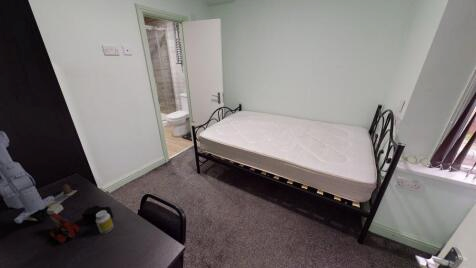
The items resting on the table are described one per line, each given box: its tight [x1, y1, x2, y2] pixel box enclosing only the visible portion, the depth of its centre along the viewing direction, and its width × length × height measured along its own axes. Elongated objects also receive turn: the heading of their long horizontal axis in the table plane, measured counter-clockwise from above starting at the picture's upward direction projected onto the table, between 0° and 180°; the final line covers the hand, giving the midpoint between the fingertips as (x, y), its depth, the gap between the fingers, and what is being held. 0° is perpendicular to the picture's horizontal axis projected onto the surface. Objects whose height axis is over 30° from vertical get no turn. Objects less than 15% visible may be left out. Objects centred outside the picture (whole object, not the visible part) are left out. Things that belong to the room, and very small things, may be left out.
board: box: [23, 189, 78, 222], centre depth 96 cm, size 8×22×1 cm, turn 176°
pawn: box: [61, 184, 73, 195], centre depth 102 cm, size 4×4×6 cm
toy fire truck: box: [49, 213, 81, 244], centre depth 78 cm, size 7×12×10 cm, turn 67°
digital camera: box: [81, 205, 114, 226], centre depth 86 cm, size 10×5×7 cm, turn 93°
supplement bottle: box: [96, 210, 115, 235], centre depth 81 cm, size 5×5×10 cm
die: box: [47, 204, 64, 216], centre depth 90 cm, size 4×4×4 cm
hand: (43, 221), depth 85 cm, fingers closed
